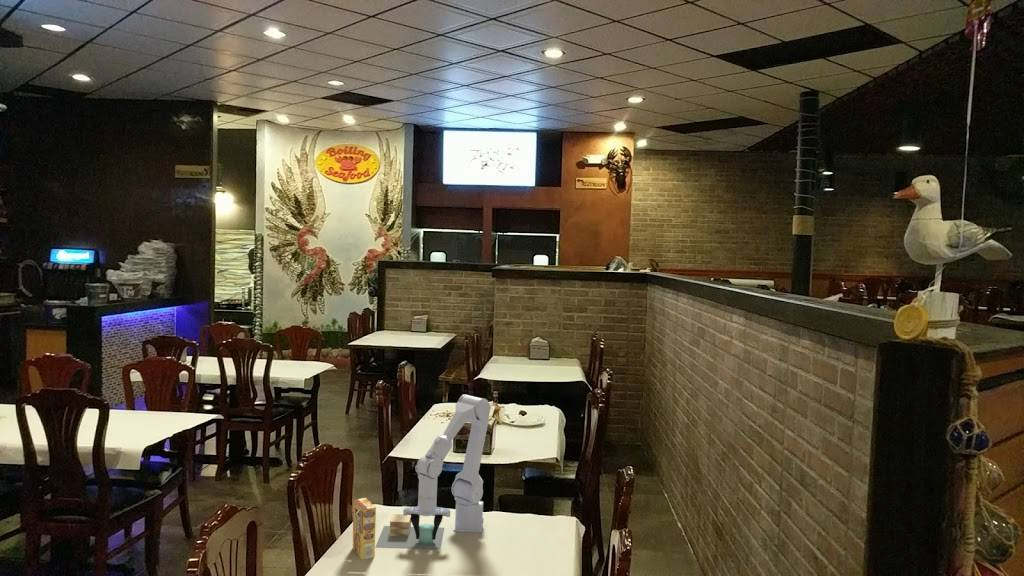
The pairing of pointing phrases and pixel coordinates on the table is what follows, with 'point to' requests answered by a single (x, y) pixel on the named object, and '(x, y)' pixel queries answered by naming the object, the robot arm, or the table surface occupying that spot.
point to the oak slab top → (400, 521)
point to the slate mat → (407, 540)
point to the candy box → (364, 528)
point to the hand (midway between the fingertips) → (425, 538)
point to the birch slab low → (400, 532)
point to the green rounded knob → (426, 534)
